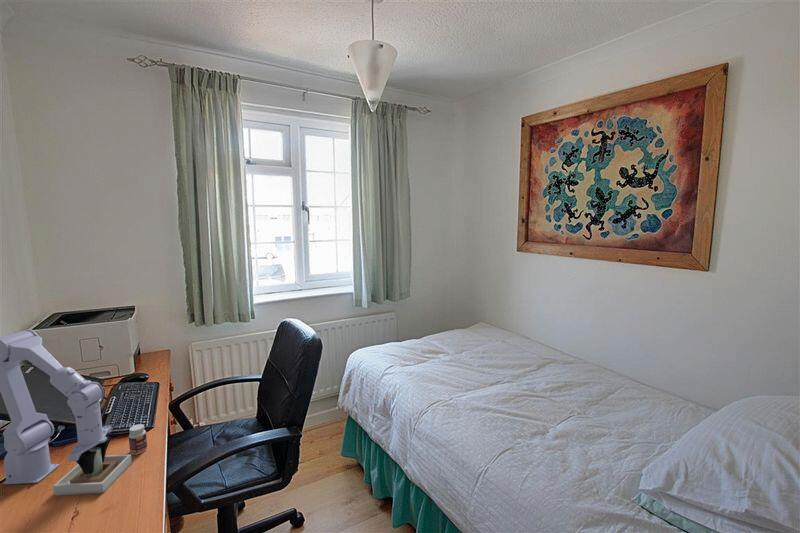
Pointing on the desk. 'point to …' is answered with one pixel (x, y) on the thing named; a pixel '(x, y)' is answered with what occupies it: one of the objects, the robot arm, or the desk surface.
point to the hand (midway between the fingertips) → (94, 468)
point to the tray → (81, 484)
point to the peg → (96, 462)
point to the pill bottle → (137, 439)
